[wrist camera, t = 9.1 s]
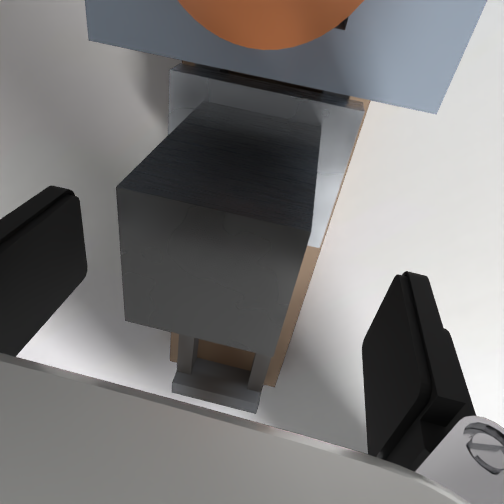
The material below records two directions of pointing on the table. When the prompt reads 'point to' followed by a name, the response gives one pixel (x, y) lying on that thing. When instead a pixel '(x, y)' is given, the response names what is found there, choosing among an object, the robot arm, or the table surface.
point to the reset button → (269, 20)
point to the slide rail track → (233, 359)
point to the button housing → (315, 46)
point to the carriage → (231, 205)
